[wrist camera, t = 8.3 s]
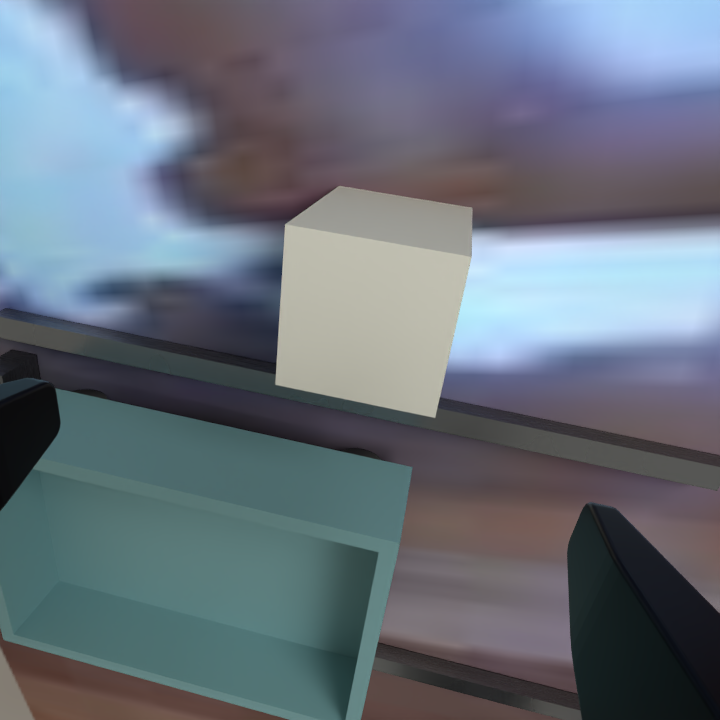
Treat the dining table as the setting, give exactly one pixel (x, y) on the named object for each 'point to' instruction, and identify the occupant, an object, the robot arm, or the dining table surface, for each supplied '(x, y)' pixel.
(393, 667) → the cart rails
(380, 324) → the part block
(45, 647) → the teal tray
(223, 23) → the dining table surface
